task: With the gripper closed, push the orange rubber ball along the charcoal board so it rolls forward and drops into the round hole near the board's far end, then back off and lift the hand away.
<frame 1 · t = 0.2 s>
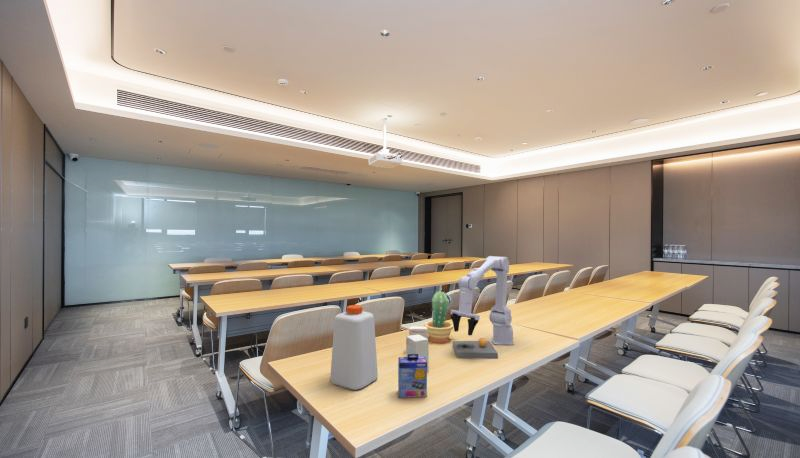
hand: (463, 333, 151), 11 cm above the table, tool pointing down, fingers open, 7 cm apart
plastic bottle: (354, 380, 127), on the table
small box: (417, 369, 137), on the table
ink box: (418, 353, 156), on the table
hole board: (474, 351, 157), on the table
ink cartridge box: (412, 394, 116), on the table
potted cactus: (438, 340, 175), on the table
ball: (482, 342, 157), point 4 cm above the table, touching hole board
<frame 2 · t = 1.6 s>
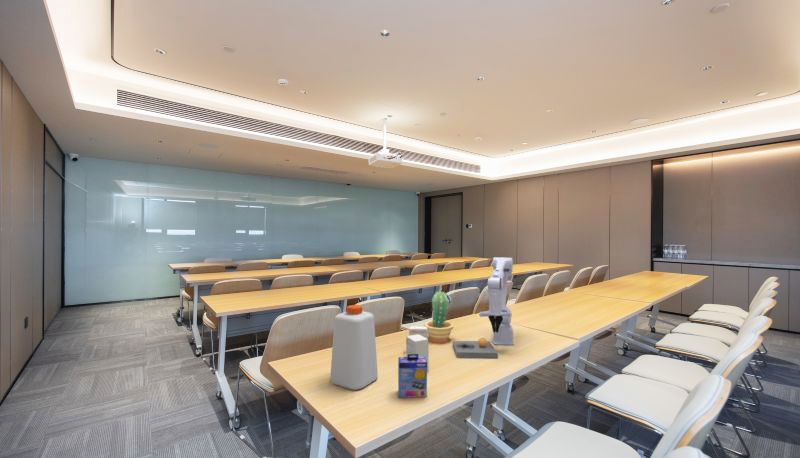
hand: (495, 331, 157), 9 cm above the table, tool pointing down, fingers closed
nothing on the table moved.
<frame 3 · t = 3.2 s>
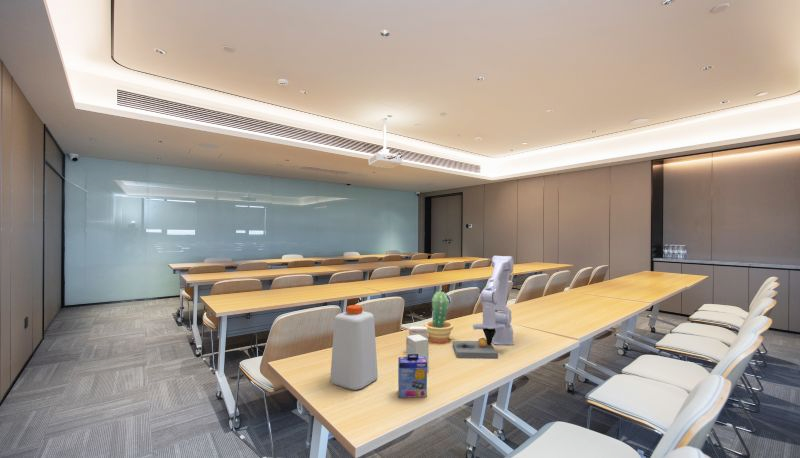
hand: (489, 344, 157), 3 cm above the table, tool pointing down, fingers closed, pressing on ball
ball: (482, 342, 157), point 4 cm above the table, touching gripper, hole board
everything else where it was.
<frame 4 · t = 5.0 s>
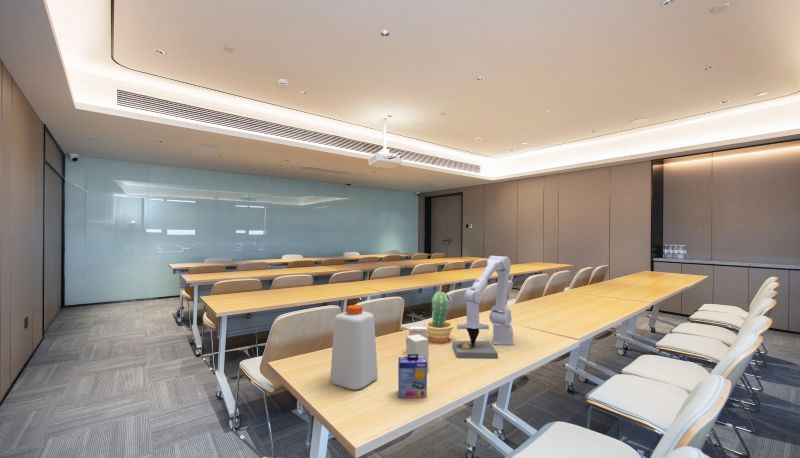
hand: (472, 344, 157), 3 cm above the table, tool pointing down, fingers closed
ball: (466, 347, 157), point 2 cm above the table, tilted 88°
everything else where it was.
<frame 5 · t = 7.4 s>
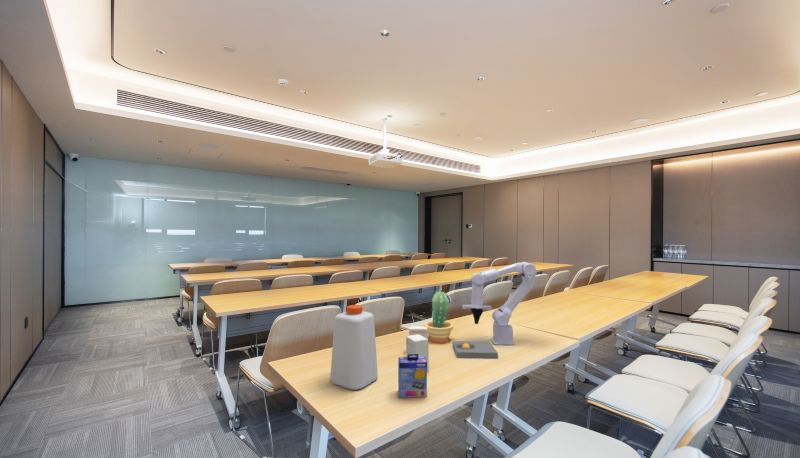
hand: (476, 323, 171), 9 cm above the table, tool pointing down, fingers closed
ball: (465, 347, 157), point 2 cm above the table, tilted 77°
everything else where it was.
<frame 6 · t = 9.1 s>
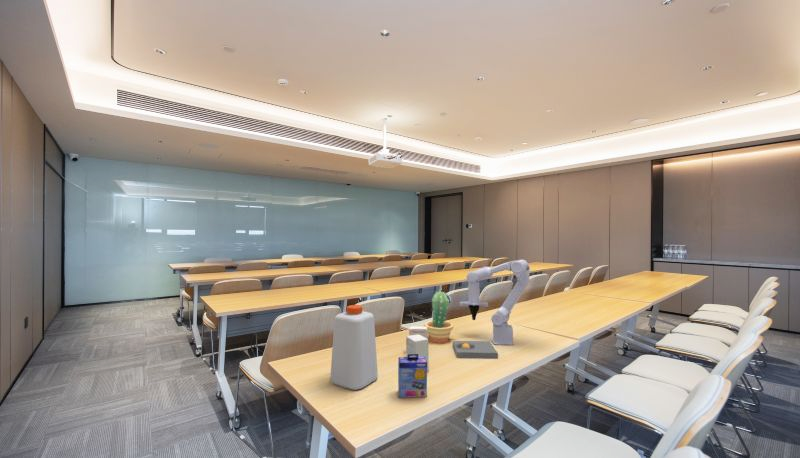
hand: (473, 319, 179), 9 cm above the table, tool pointing down, fingers closed
nothing on the table moved.
at the end: ball 0.5 cm from the target spot on the hole board, point 2.0 cm above the hole board's base; ball moved 8.3 cm from its start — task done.
